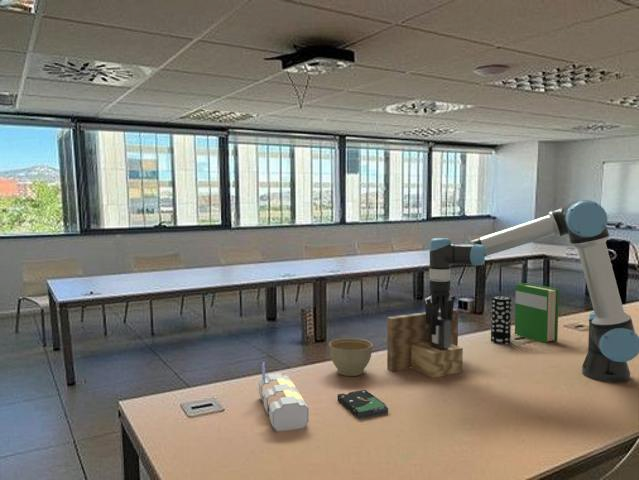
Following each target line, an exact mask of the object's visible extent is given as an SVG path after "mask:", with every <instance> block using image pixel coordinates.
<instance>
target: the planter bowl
mask: <svg viewBox="0 0 639 480" xmlns="http://www.w3.org/2000/svg"><path fill="white" fill-rule="evenodd" d="M328 348H329V354H330V359H331V360H332V363H333V365H334V366H335V368H336V369H337V372H338V374H339V375H342V376H348V377H357V376H360V375H363V374H364V370H365V369H366V368H367V366H368V364H369V363H370V361H371V357H372V351H373V349H372V348H373V343H372V342H371V341H369V340H366V339H362V338H354V337H353V338H352V337H351V338H349V337H347V338H339V339H332V340H331V341H329V343H328Z"/></svg>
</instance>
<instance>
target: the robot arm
mask: <svg viewBox="0 0 639 480" xmlns="http://www.w3.org/2000/svg"><path fill="white" fill-rule="evenodd" d="M607 224H608V215H607V212H606V210H605V209H604V207H602V205H601V204H599V203H598V202H596V201H593V200H587V199H585V200H584V199H583V200H576V201H572V202H570V203H568V204H566V205H564V206H561V207H560V208H557V209H555V210H550V211H548V214H547V215H545V216H541V217H539V218H536V219H533V220H532V219H531V220H529V221H526V222H524V223H520V224H517V225H514V226H511V227H508V228H505V229H501V230H499V231H496V232H492V233H489V234H486V235H484V236H483V235H482V236H481V237H477V238H475V239H472V240H469V239H468V240H467V241H464V242H463V243H452V240H451V239H450V238H449V237H436V238H435V237H433V238H431V240H430V241H429V279H430V280H429V288H428V289H429V290H430V291H429V292H430V293H429V295H428V297H427V298H423V303H424V309H425V312H426V323H427V324H429V325H431V334H432V342H433V343H436V344H438V337H439V326H437V320H438V313H439V310H441V318H444V319H448V320H451V322H452V319H453V309H454V304H455V300H456V296H455V295H451V293H450V291H451V281H450V280H451V266H452V265H460V266H461V265H462V266H464V265H465V266H484V265H485V260H486V257H489V256H491V255H494V254H497V253H501V252H504V251H507V250H510V249H513V248H517V247H520V246H524V245H527V244H529V243H533V242H536V241H540V240H543V239H545V238H546V239H547V238H550V237H552V236H557V237H562V236H565V235H567V236H568V238H569V243H570V245H572V246H573V247H575V248H576V249H577V253H578V255H579V260H580V264H581V269H582V272H583V276H584V280H585V282H586V283H585V284H586V287H587V291H588V296H589V298H590V301H591V305H592V310H593V312H590V314H589V317H588V340H587V341H588V344H587V345H588V346H587V348H588V349H587V354H586V356H585V359H584V361H583V363H582V367H581V373H582V374H583V375H584V376H585V377H588V378H591V379H593V380H597V381H601V382H606V383H626V382H629V381H630V380H631V372H630V368H629V365H628V362H629V361H632V360H634V359H635V358H637V356H638V355H639V335H638V334H637V333H636V331H635V328H634V323H633V319H632V316H631V315H630V314H628V313H626V312H625V310H624V306H623V303H622V299H621V296H620V293H619V292H620V291H619V288H618V284H617V280H616V277H615V276H616V275H615V273H614V270H613V266H612V262H611V258H610V255H609V254H610V253H609V249H608V247H607V246H608V245H607V241H608V239H609V238H610V234H609V231H608V225H607Z"/></svg>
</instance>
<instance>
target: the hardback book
mask: <svg viewBox="0 0 639 480" xmlns="http://www.w3.org/2000/svg"><path fill="white" fill-rule="evenodd" d="M559 295H560V289H559V288H555V287H550V286H543V285H538V284H534V283H533V284H532V283H528V282H526V283H517V284H515V305H514V306H515V309H514V310H515V312H514V313H515V314H514V335H516V334H517V335H516V336H519V335H520V336H519V337H522V336H523V337H522V338H525V337H526V339H528V338H529V339H528V340H531V341H535V342H538V343H542V344H545V345H547V344H548V342H554V343H558V338H559V337H558V333H559V299H560V296H559Z"/></svg>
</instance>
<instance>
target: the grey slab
mask: <svg viewBox="0 0 639 480" xmlns="http://www.w3.org/2000/svg"><path fill="white" fill-rule="evenodd" d="M437 326H439V337H438V344H436V343H433V342H432V334H431V325H429V324H428V342H429V343H431V344H432V347H434V348H436V349H439V350H445V349H447V348H449V347H450V345H451V320H448V319H444V318H441V317H438V320H437Z"/></svg>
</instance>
